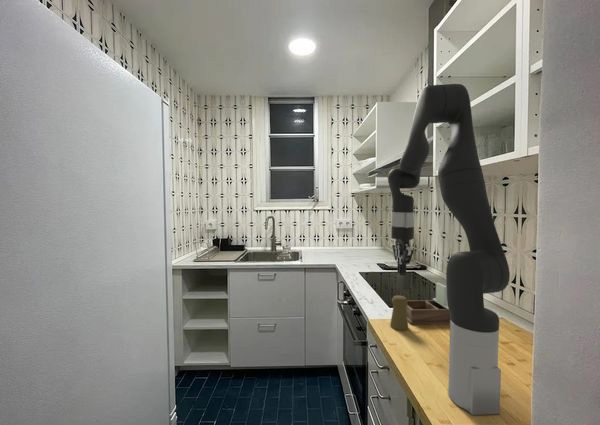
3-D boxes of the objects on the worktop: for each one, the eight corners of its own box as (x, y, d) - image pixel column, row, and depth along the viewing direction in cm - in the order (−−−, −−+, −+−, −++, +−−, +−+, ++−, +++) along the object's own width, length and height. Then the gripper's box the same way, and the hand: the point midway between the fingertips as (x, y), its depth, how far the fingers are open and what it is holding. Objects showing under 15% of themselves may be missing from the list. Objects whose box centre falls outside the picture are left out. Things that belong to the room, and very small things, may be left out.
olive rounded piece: (410, 331, 99) (411, 299, 98) (393, 330, 99) (393, 299, 98) (404, 323, 105) (405, 293, 104) (388, 323, 105) (388, 293, 105)
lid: (473, 309, 106) (473, 288, 106) (447, 309, 105) (448, 288, 105) (456, 299, 116) (456, 280, 116) (432, 299, 116) (433, 281, 116)
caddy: (475, 323, 105) (476, 310, 105) (410, 324, 104) (410, 310, 104) (456, 311, 117) (456, 299, 117) (397, 312, 116) (397, 299, 116)
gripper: (385, 223, 107) (384, 270, 108) (399, 226, 94) (398, 279, 94) (405, 224, 108) (404, 270, 108) (422, 226, 94) (421, 279, 95)
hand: (401, 274), depth 101 cm, fingers closed
